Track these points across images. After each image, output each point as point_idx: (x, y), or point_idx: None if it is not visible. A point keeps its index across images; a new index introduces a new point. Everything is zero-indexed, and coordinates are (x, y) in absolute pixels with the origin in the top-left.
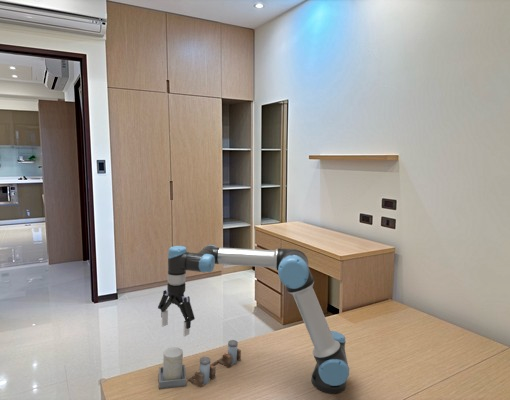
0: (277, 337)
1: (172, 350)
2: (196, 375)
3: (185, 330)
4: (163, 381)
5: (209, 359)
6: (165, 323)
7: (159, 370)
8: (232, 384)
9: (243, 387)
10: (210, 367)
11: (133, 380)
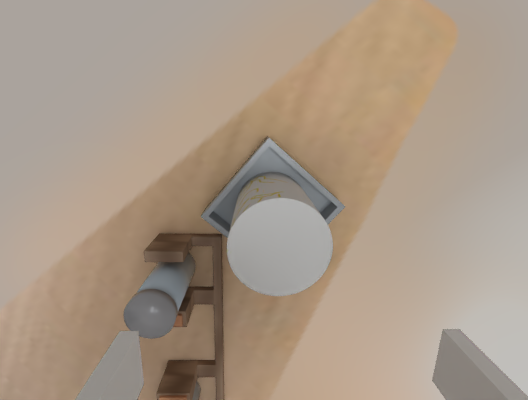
0: None
1: (297, 258)
2: (172, 248)
3: (85, 393)
4: (259, 152)
5: (135, 329)
6: (451, 375)
7: (327, 192)
8: (94, 307)
9: (57, 316)
10: None
11: (385, 111)
